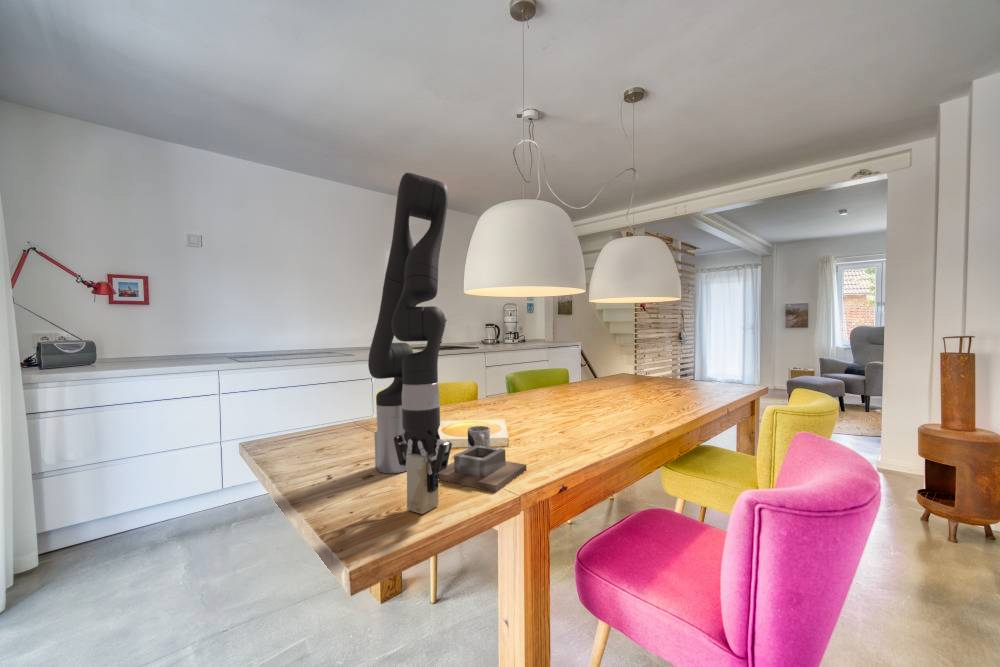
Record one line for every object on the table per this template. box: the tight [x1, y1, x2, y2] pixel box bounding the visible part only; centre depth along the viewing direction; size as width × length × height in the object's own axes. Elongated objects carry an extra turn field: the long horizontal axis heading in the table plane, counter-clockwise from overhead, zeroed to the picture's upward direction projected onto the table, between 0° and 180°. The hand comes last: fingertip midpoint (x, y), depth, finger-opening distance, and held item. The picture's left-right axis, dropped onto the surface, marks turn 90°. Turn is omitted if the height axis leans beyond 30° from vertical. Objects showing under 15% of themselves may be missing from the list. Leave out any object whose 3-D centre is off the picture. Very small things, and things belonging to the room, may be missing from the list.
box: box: [406, 453, 440, 515], centre depth 79 cm, size 5×4×11 cm
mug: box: [467, 425, 491, 449], centre depth 115 cm, size 10×7×7 cm
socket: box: [438, 445, 527, 493], centre depth 97 cm, size 18×15×6 cm
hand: (422, 488), depth 79 cm, fingers closed on box, 4 cm apart
